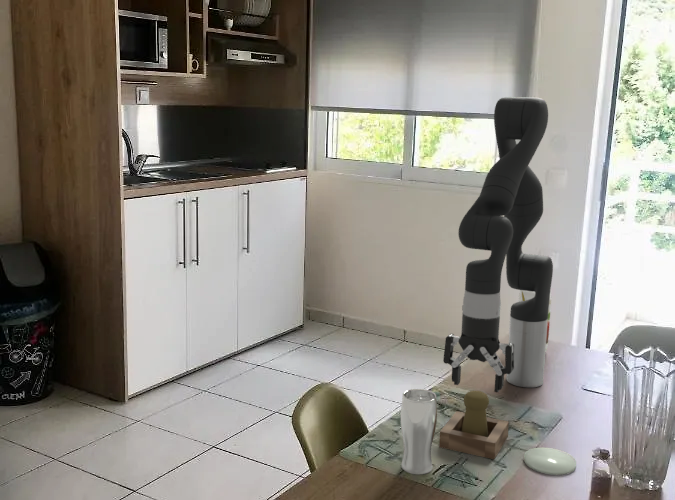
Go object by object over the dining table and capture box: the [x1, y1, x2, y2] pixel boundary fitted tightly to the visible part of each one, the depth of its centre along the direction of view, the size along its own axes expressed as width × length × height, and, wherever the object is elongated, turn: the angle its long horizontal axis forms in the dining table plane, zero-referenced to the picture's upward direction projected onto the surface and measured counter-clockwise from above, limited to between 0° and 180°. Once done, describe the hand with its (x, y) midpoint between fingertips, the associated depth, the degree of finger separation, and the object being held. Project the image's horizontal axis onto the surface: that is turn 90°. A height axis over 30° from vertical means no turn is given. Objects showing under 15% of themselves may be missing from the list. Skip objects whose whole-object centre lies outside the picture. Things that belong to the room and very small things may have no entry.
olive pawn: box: [461, 390, 490, 437], centre depth 155 cm, size 6×6×11 cm
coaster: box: [523, 447, 577, 476], centre depth 148 cm, size 10×10×1 cm
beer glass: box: [400, 388, 438, 475], centre depth 144 cm, size 7×7×15 cm
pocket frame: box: [438, 410, 510, 460], centre depth 156 cm, size 12×12×4 cm
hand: (476, 387), depth 154 cm, fingers open, 8 cm apart
